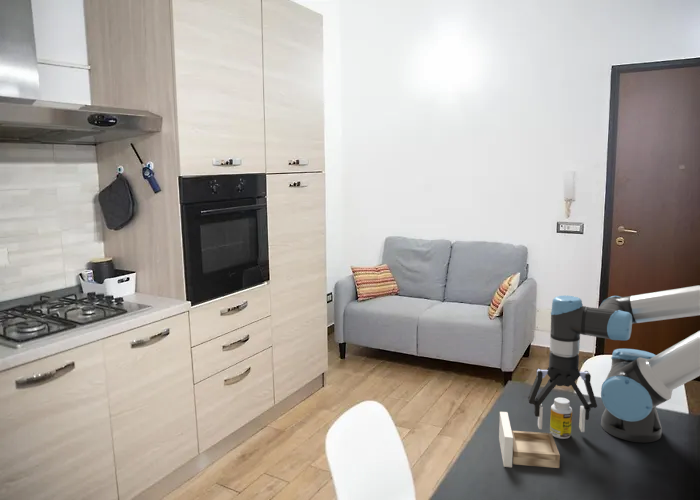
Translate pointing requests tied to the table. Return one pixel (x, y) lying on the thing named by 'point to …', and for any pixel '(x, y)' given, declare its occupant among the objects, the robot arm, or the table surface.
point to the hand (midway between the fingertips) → (560, 428)
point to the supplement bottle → (561, 418)
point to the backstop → (505, 439)
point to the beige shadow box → (535, 449)
